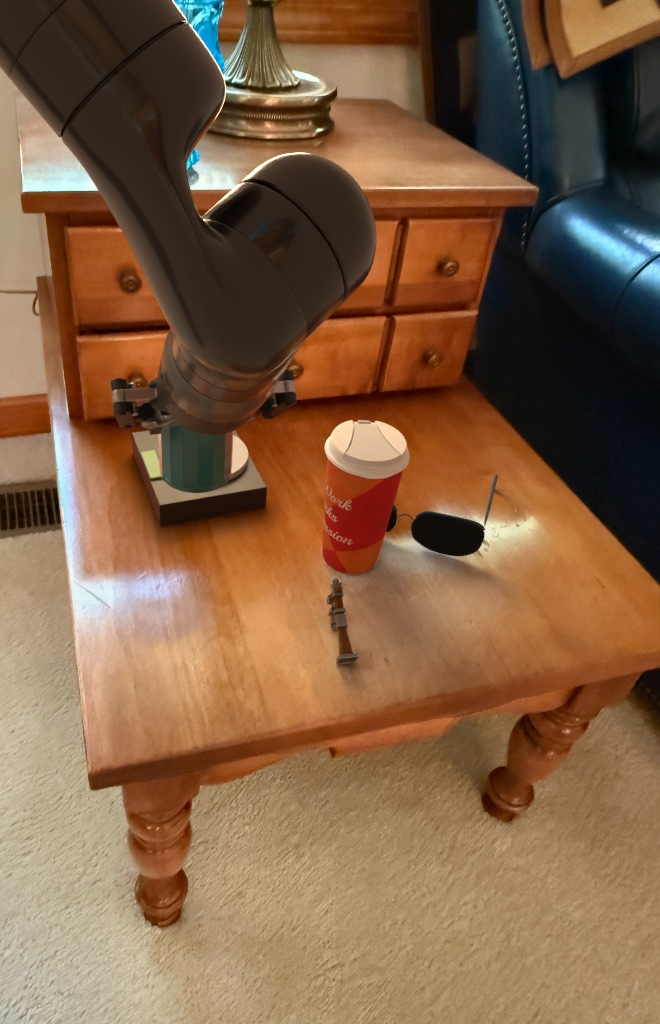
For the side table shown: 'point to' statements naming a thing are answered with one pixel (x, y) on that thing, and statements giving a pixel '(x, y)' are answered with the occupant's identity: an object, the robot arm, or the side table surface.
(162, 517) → the scale
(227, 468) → the teal open tube
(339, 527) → the coffee cup
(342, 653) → the wooden post with brackets
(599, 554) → the side table surface
